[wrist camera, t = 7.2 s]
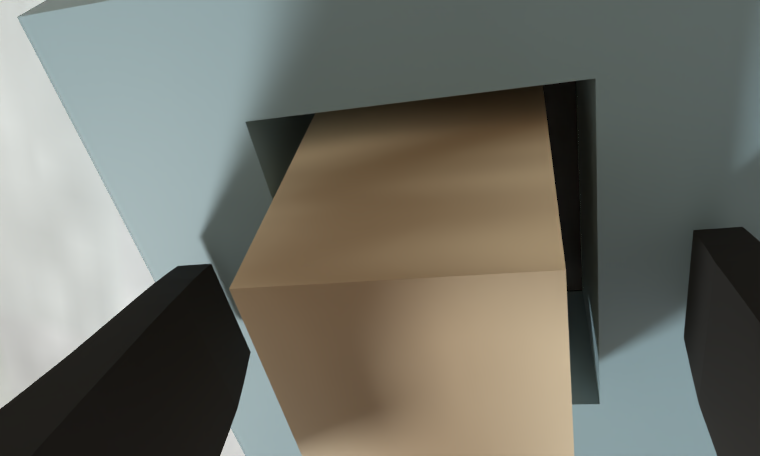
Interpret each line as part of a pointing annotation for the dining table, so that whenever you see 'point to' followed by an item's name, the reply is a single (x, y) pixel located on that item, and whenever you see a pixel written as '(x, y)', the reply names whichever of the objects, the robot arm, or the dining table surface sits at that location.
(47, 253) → the dining table surface
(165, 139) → the socket plate
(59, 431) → the robot arm
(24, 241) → the dining table surface
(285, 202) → the key block
